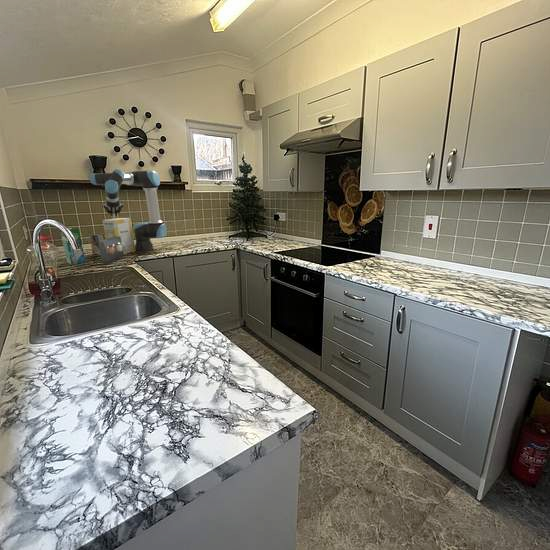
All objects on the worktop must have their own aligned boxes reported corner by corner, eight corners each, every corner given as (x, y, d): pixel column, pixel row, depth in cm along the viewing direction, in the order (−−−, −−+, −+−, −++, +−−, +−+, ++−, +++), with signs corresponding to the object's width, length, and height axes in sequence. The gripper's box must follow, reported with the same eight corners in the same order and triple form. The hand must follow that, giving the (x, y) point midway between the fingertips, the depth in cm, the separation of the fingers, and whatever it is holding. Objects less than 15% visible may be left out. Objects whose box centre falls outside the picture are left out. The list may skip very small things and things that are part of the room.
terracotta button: (115, 252, 215) (114, 246, 213) (112, 254, 210) (111, 247, 209) (111, 252, 215) (110, 246, 213) (107, 254, 210) (106, 248, 209)
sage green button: (125, 248, 230) (124, 242, 229) (122, 249, 226) (121, 243, 225) (121, 248, 230) (120, 242, 229) (118, 249, 226) (117, 243, 225)
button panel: (124, 256, 234) (120, 236, 229) (108, 264, 211) (104, 241, 206) (113, 256, 234) (110, 236, 229) (96, 264, 211) (92, 241, 206)
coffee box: (107, 254, 245) (104, 234, 240) (101, 255, 239) (97, 235, 234) (99, 253, 247) (95, 234, 243) (92, 255, 241) (88, 235, 237)
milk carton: (81, 260, 223) (74, 227, 216) (85, 262, 217) (78, 228, 210) (67, 263, 216) (59, 228, 209) (71, 264, 210) (63, 229, 203)
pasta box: (119, 256, 236) (113, 220, 228) (108, 255, 239) (102, 220, 231) (135, 251, 253) (130, 218, 245) (125, 250, 256) (120, 218, 248)
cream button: (122, 250, 222) (121, 244, 221) (120, 251, 218) (119, 245, 217) (118, 250, 222) (117, 244, 221) (115, 251, 218) (114, 245, 217)
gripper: (122, 193, 209) (122, 213, 228) (100, 194, 203) (103, 213, 222) (123, 202, 207) (124, 221, 226) (102, 203, 200) (104, 222, 220)
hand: (114, 217), depth 224 cm, fingers closed
